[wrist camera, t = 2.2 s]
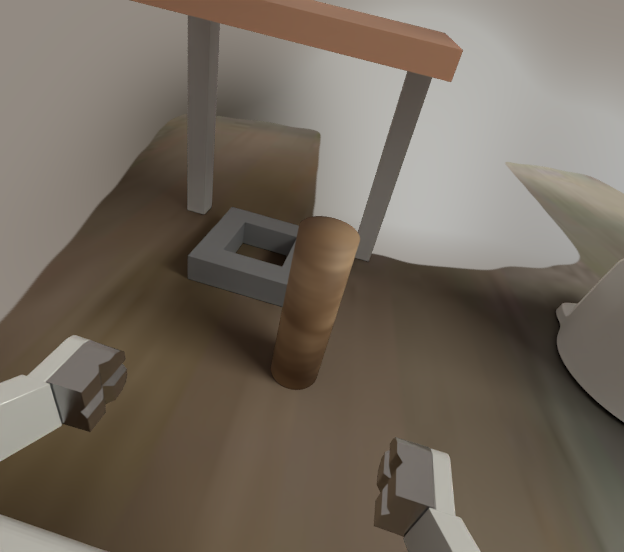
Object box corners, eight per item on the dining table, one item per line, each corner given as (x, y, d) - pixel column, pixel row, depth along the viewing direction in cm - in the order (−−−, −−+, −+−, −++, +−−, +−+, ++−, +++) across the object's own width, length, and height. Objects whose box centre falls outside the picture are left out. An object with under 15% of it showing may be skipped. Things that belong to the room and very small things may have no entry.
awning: (354, 340, 33) (462, 50, 20) (119, 270, 34) (79, -46, 21) (370, 250, 45) (444, 33, 32) (197, 200, 46) (201, -28, 33)
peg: (309, 349, 31) (346, 216, 24) (323, 385, 28) (369, 249, 21) (266, 354, 30) (291, 215, 22) (276, 392, 27) (309, 250, 20)
